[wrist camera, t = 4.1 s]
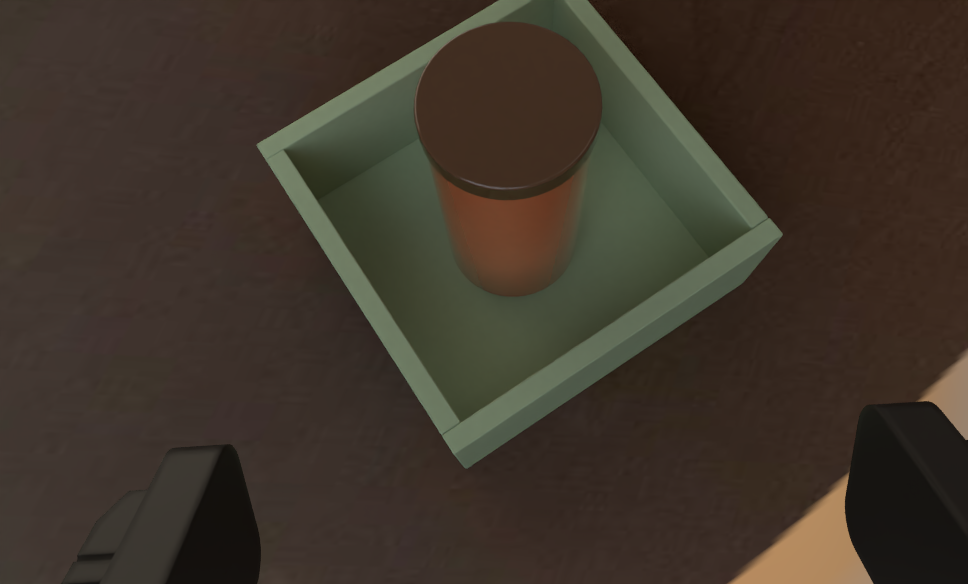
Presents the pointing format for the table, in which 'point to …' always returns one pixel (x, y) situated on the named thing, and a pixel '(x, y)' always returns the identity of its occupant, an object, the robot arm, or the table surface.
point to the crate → (589, 277)
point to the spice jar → (509, 150)
